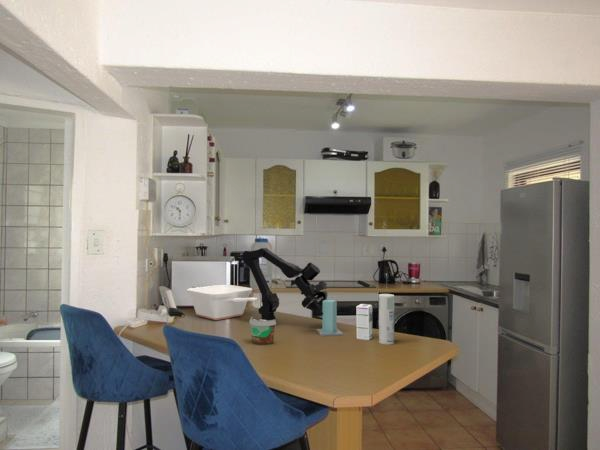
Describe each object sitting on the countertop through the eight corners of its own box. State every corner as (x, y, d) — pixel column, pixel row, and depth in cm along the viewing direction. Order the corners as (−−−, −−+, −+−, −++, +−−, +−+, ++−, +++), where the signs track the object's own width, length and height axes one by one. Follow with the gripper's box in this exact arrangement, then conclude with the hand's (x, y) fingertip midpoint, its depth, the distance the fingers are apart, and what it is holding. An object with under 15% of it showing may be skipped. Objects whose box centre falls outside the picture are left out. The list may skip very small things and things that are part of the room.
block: (322, 331, 189) (322, 301, 190) (326, 329, 194) (326, 299, 194) (332, 332, 187) (332, 301, 187) (336, 330, 192) (336, 300, 192)
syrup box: (369, 340, 178) (369, 306, 178) (356, 338, 180) (356, 305, 181) (372, 337, 183) (372, 304, 183) (359, 335, 186) (359, 303, 186)
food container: (243, 343, 172) (243, 319, 173) (251, 339, 178) (251, 316, 178) (268, 347, 167) (268, 322, 167) (276, 343, 172) (276, 319, 172)
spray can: (390, 345, 170) (390, 296, 171) (375, 342, 174) (376, 295, 175) (396, 342, 176) (396, 294, 176) (382, 339, 180) (382, 293, 180)
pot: (225, 309, 246) (225, 284, 246) (276, 320, 216) (277, 292, 216) (182, 316, 225) (182, 288, 225) (232, 330, 195) (232, 298, 195)
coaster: (321, 336, 185) (321, 334, 185) (316, 330, 195) (316, 329, 195) (343, 335, 186) (343, 333, 186) (337, 330, 196) (337, 328, 196)
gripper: (308, 277, 185) (330, 304, 180) (324, 273, 202) (345, 298, 197) (292, 293, 189) (313, 320, 184) (309, 288, 206) (329, 313, 201)
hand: (326, 312), depth 191 cm, fingers open, 9 cm apart
